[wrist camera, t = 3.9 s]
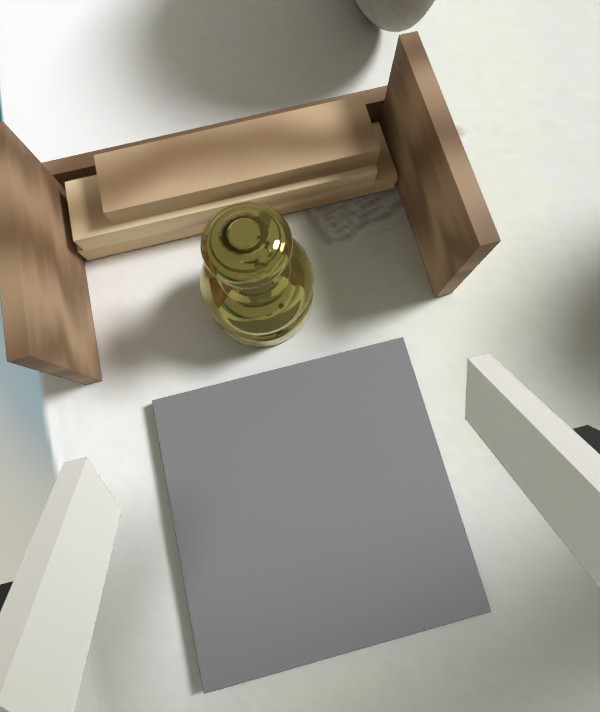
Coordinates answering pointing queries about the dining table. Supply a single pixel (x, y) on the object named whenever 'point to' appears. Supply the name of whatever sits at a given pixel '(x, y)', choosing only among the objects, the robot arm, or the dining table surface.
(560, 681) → the dining table surface
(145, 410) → the dining table surface
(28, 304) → the offcut rack
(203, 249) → the gold rounded piece
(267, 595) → the charcoal mat
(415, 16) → the grey thick disc
